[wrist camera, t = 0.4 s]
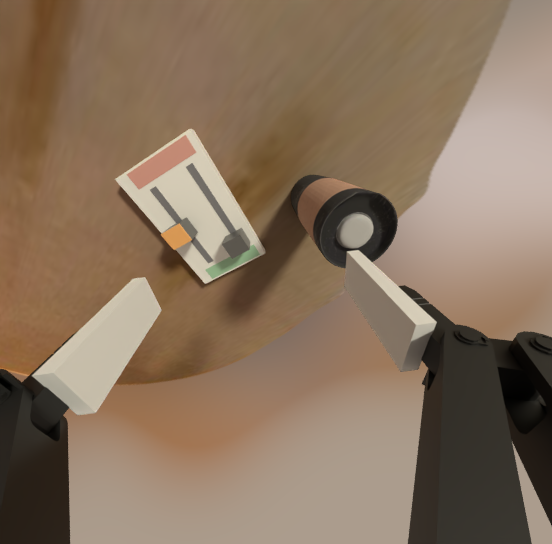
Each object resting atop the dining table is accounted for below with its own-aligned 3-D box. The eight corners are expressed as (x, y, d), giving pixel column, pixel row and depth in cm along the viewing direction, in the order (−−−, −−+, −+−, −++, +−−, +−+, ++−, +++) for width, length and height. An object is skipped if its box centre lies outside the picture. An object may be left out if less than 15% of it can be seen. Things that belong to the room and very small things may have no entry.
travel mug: (306, 226, 39) (345, 283, 21) (280, 195, 36) (301, 232, 18) (339, 197, 37) (412, 236, 19) (315, 162, 33) (376, 169, 16)
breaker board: (122, 178, 32) (97, 182, 27) (193, 130, 30) (180, 125, 25) (207, 278, 43) (200, 295, 38) (265, 249, 40) (266, 262, 35)
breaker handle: (170, 226, 34) (160, 234, 31) (186, 217, 34) (178, 223, 30) (181, 241, 36) (174, 250, 32) (197, 232, 35) (191, 240, 32)
